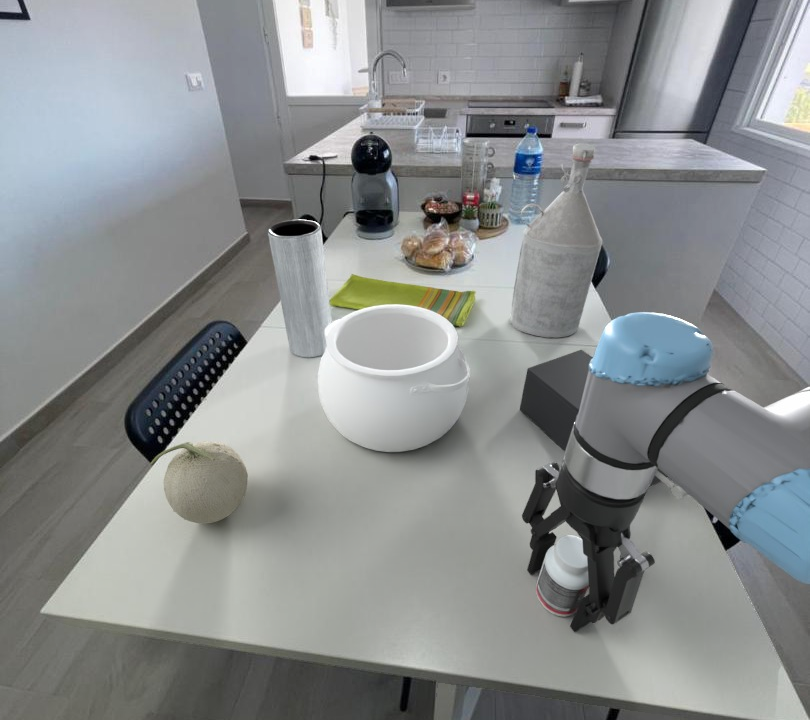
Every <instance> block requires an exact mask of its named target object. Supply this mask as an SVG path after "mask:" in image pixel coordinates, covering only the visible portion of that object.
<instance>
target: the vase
mask: <svg viewBox="0 0 810 720" xmlns="http://www.w3.org/2000/svg"><path fill="white" fill-rule="evenodd" d="M267 235H268V242H269V246H270V252H271V258H272V263H273V267H274V268H273V269H274V272H275V273H274V274H275V278H276V283H277V288H278V294H279V300H280V305H281V311H282V315H283V321H284V326H285V331H286V336H287V342H288V346H289V347H288V348H289V350H290V351H291V353H292V355H293V354H294V355H295V356H297V357H301V358H317V357H322V356H323V354H324V352H325V348H326V347H327V344H326V339H325V334H324V330H325V328H326V327H327V326H328V325H329V324H330V323H332V322H333V318H332V310H331V305H330V293H329V292H330V291H329V285H328V283H329V282H328V275H327V268H326V259H325V250H324V241H323V233H322V226H321V225H320V224H319V223H318V222H316V221H313V220H307V219H292V220H290V219H289V220H284V221H281V222H277V223H275V224H273V225H271V226H270V227H269V228H268V229H267Z"/></svg>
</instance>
